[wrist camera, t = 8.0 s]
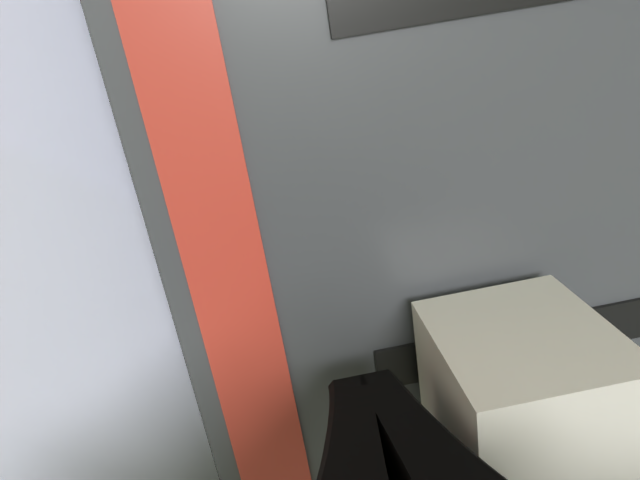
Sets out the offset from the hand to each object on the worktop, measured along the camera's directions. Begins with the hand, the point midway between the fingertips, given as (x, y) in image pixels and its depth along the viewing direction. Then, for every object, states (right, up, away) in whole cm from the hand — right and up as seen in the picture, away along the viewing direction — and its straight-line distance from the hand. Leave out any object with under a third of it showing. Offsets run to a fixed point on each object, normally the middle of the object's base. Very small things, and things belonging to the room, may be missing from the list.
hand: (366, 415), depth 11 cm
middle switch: (+3, +1, +1) cm, 3 cm away
